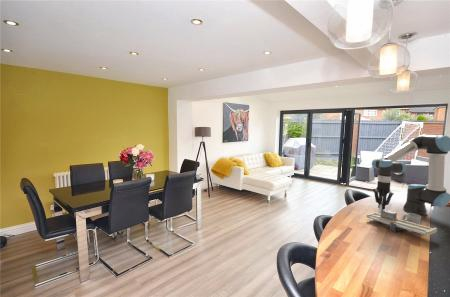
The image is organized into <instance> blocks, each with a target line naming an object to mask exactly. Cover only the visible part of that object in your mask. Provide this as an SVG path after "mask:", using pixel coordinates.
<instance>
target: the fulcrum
mask: <svg viewBox="0 0 450 297" xmlns="http://www.w3.org/2000/svg"><path fill="white" fill-rule="evenodd" d="M400 220H404V221H407V219H406V218H405V219H402V218H401V219H400ZM402 230H404V229H403V228H400V227H397V226H396V224H395V223H393V222H390V224H389V231H390V232H391V233H395V234H396V232H399V231H402Z"/></svg>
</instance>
